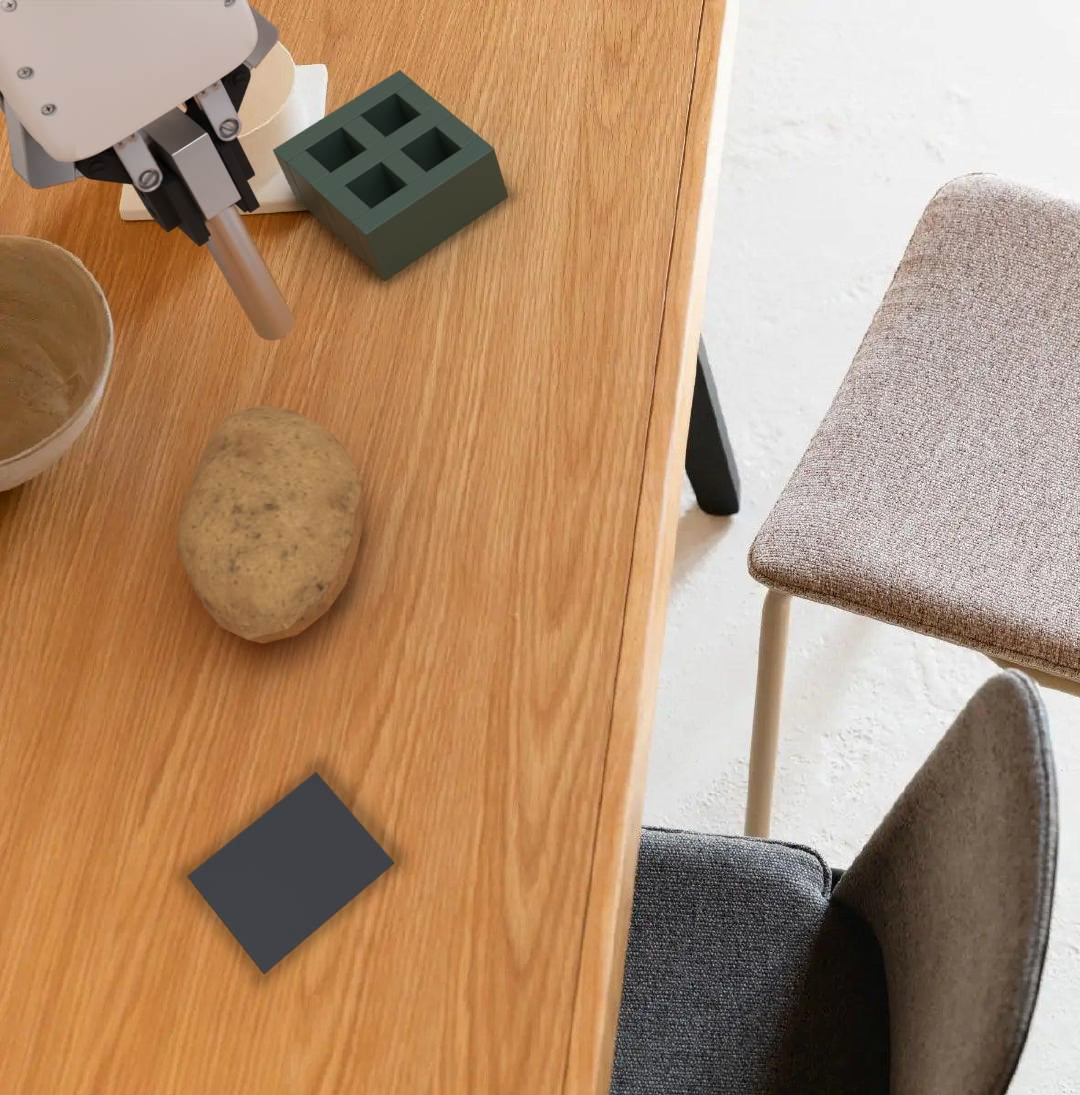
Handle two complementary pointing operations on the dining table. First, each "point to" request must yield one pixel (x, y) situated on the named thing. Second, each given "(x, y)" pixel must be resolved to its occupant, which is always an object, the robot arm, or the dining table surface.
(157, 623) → the dining table surface
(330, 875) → the mat
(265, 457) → the potato
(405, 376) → the dining table surface
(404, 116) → the rack
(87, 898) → the dining table surface
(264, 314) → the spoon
